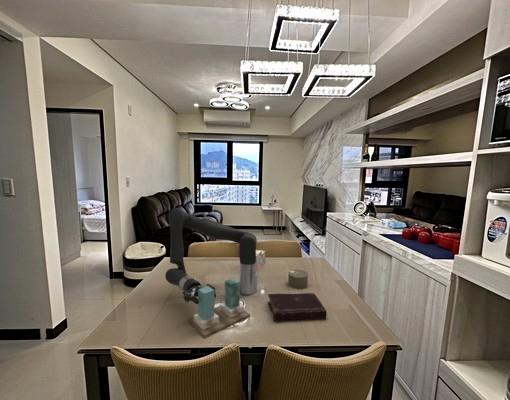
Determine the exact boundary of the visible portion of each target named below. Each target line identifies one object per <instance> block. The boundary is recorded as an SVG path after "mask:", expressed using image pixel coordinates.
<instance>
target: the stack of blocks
mask: <svg viewBox="0 0 510 400" xmlns="http://www.w3.org/2000/svg"><path fill="white" fill-rule="evenodd" d="M264 262H265V263H266V250H262V249H260V250H259V249H256V274H257V273H258V272H259V271H260V269H261V268H262V267H263V266H264V264H265V263H264ZM261 266H262V267H261ZM260 267H261V268H260ZM258 270H259V271H258ZM257 271H258V272H257Z"/></svg>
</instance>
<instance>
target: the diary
mask: <svg viewBox="0 0 510 400" xmlns="http://www.w3.org/2000/svg"><path fill="white" fill-rule="evenodd" d="M267 296H268V298H269V299H268V300H269V301H267V305H268V308H269V311H270V312H272V314H273V322H287V321H288V322H289V321H306V320H307V321H308V320H324V319H327V309H326V308H325V306H324V305H323V304H322V302H321V301H320V299H319V298H318V296H317V295H316V294H315V293H314V292H305V293H303V292H302V293H268V294H267Z"/></svg>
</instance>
